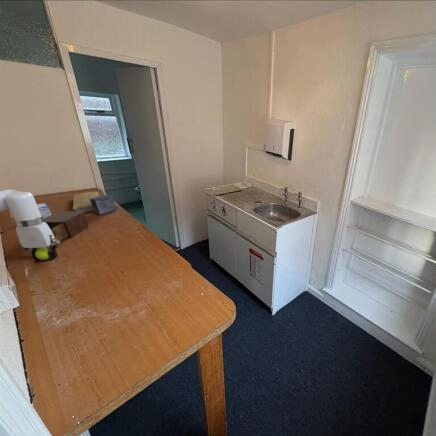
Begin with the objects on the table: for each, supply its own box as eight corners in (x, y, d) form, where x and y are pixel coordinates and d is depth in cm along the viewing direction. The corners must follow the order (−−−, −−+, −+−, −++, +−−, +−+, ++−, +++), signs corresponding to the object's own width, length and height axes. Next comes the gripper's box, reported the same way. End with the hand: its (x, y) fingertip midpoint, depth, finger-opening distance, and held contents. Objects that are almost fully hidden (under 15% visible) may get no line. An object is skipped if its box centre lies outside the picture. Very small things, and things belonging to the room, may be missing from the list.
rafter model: (102, 209, 158) (100, 201, 155) (74, 214, 149) (71, 205, 147) (99, 196, 182) (97, 188, 180) (75, 199, 173) (72, 191, 171)
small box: (111, 208, 160) (107, 194, 156) (117, 210, 158) (113, 195, 154) (93, 213, 152) (89, 198, 147) (99, 215, 149) (94, 200, 145)
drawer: (48, 250, 108) (41, 236, 105) (19, 252, 106) (12, 237, 103) (74, 233, 125) (70, 220, 122) (50, 233, 123) (44, 220, 120)
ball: (37, 263, 100) (32, 252, 98) (39, 258, 104) (34, 247, 102) (55, 259, 104) (50, 249, 101) (56, 254, 108) (51, 243, 105)
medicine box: (39, 218, 142) (34, 204, 138) (49, 215, 145) (44, 202, 142) (43, 221, 138) (37, 207, 134) (53, 219, 141) (48, 205, 138)
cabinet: (71, 238, 122) (65, 221, 118) (43, 239, 120) (36, 222, 116) (89, 226, 135) (84, 210, 131) (64, 226, 133) (58, 211, 129)
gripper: (-3, 226, 92) (16, 264, 99) (46, 224, 95) (62, 262, 102) (14, 218, 99) (31, 254, 106) (60, 217, 101) (74, 252, 109)
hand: (46, 257), depth 104 cm, fingers closed on ball, 5 cm apart
